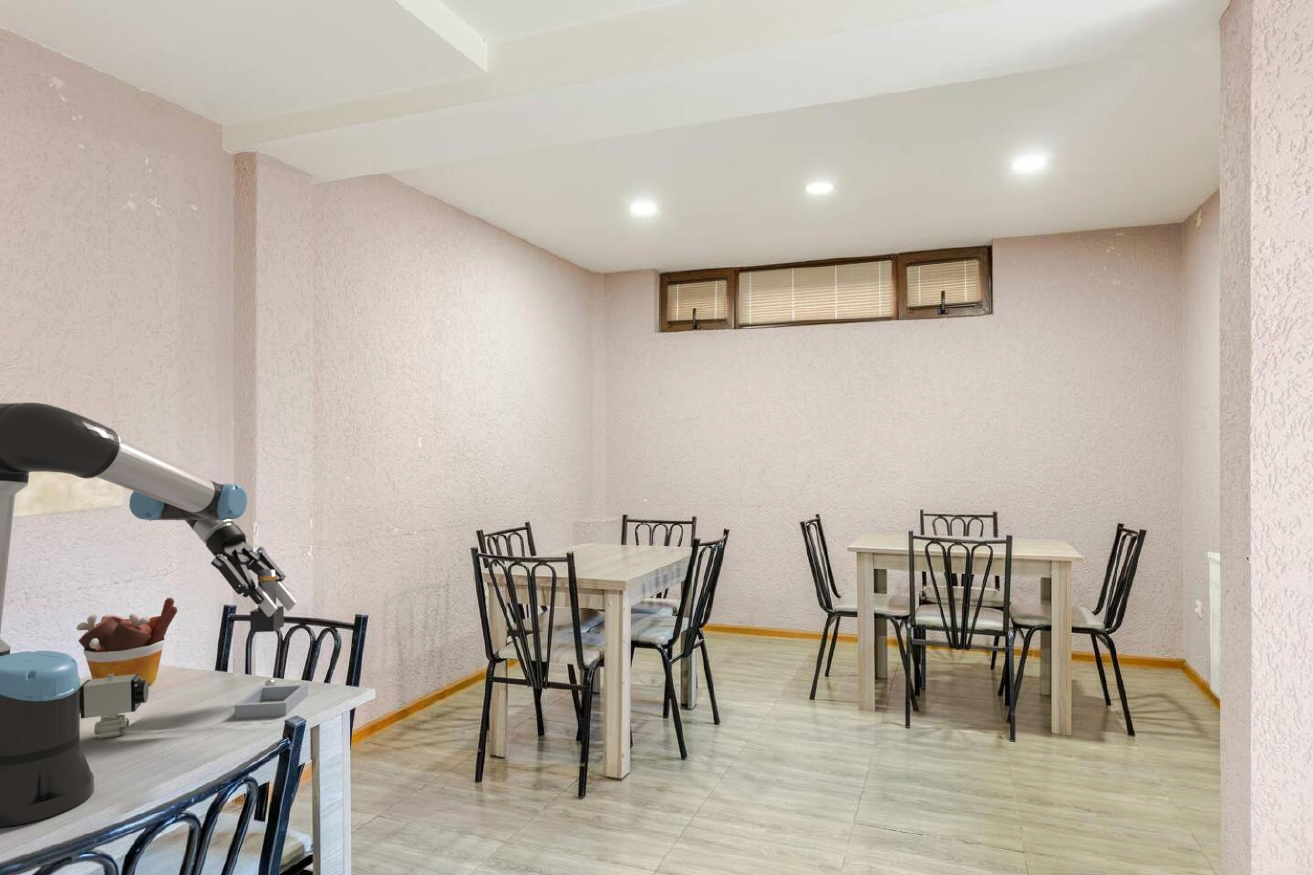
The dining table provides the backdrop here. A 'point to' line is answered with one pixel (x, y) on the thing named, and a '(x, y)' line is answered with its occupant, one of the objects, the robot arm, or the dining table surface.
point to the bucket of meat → (126, 643)
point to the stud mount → (270, 682)
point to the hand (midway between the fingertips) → (282, 609)
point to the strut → (257, 616)
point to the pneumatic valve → (112, 701)
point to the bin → (256, 709)
